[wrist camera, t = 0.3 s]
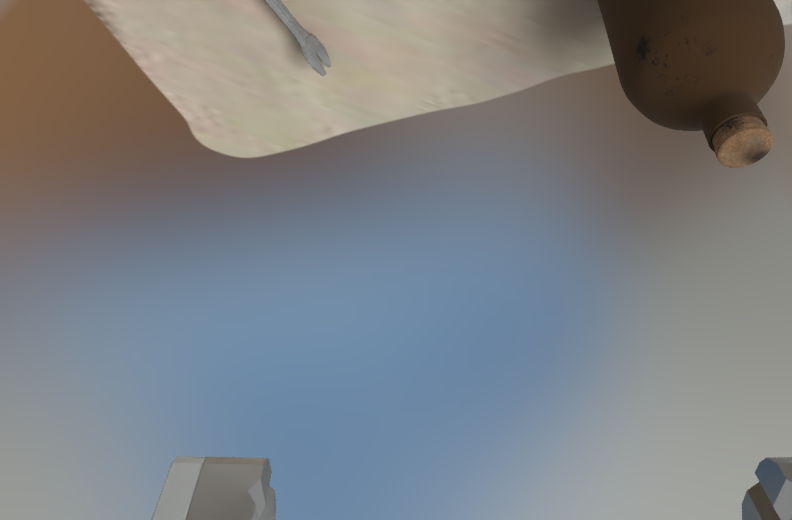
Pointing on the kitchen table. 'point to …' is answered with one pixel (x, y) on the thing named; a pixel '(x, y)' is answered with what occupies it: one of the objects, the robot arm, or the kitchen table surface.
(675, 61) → the olive oil
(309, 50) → the combination wrench
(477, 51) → the kitchen table surface
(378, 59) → the kitchen table surface
